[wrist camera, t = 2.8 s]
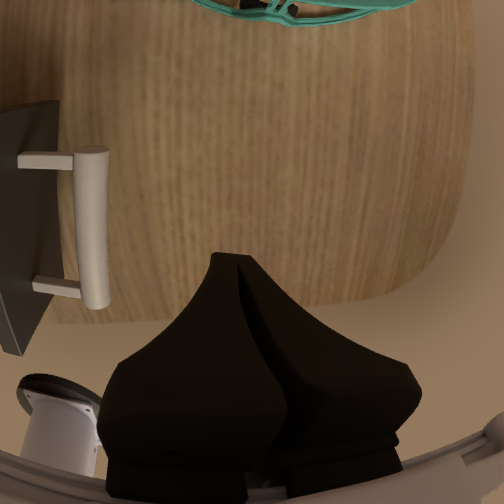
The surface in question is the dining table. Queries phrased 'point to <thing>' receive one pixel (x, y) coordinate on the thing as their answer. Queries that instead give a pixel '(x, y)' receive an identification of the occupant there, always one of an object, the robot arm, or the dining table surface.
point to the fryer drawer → (46, 221)
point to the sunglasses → (256, 10)
